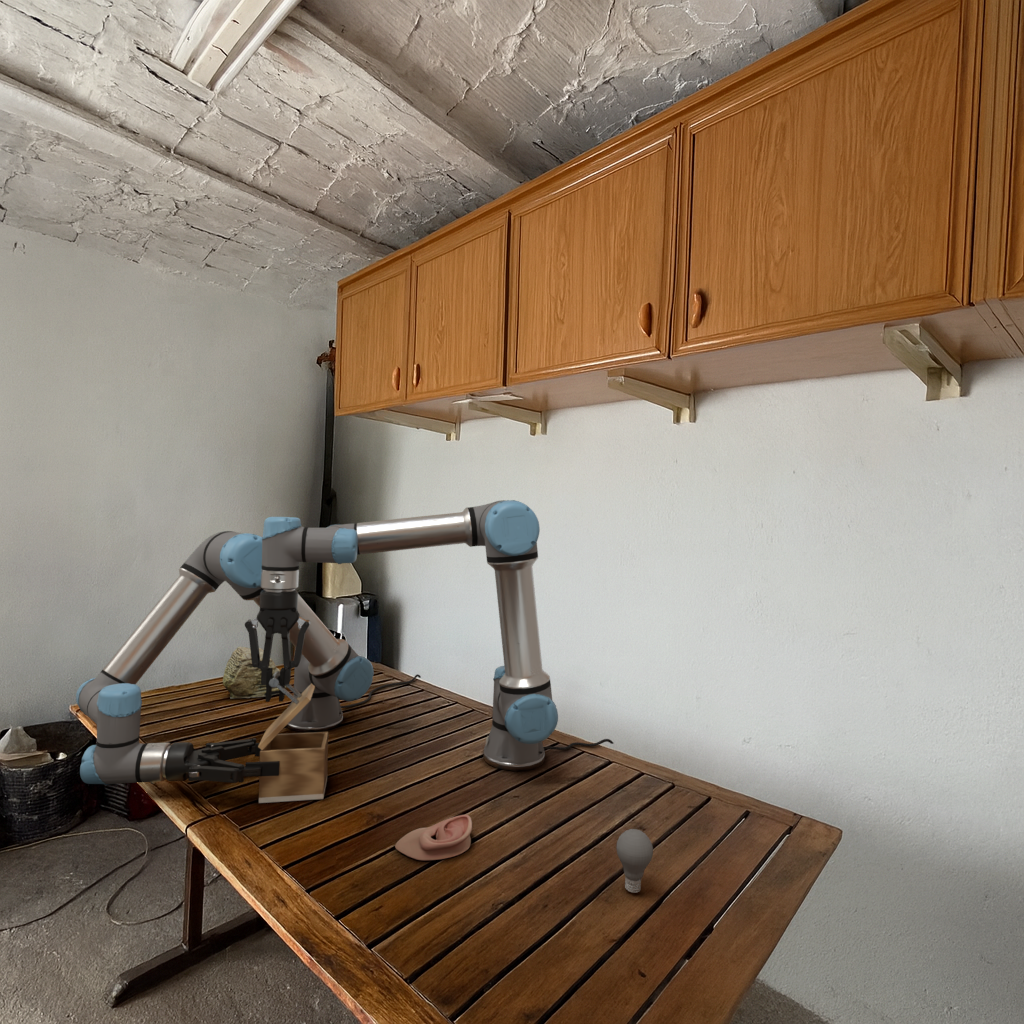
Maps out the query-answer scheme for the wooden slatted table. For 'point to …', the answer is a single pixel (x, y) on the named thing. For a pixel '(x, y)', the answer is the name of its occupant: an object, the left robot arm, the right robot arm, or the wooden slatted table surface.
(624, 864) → the light bulb
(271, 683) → the lid
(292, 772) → the chest
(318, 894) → the wooden slatted table surface
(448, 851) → the anatomical model
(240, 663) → the fossil
